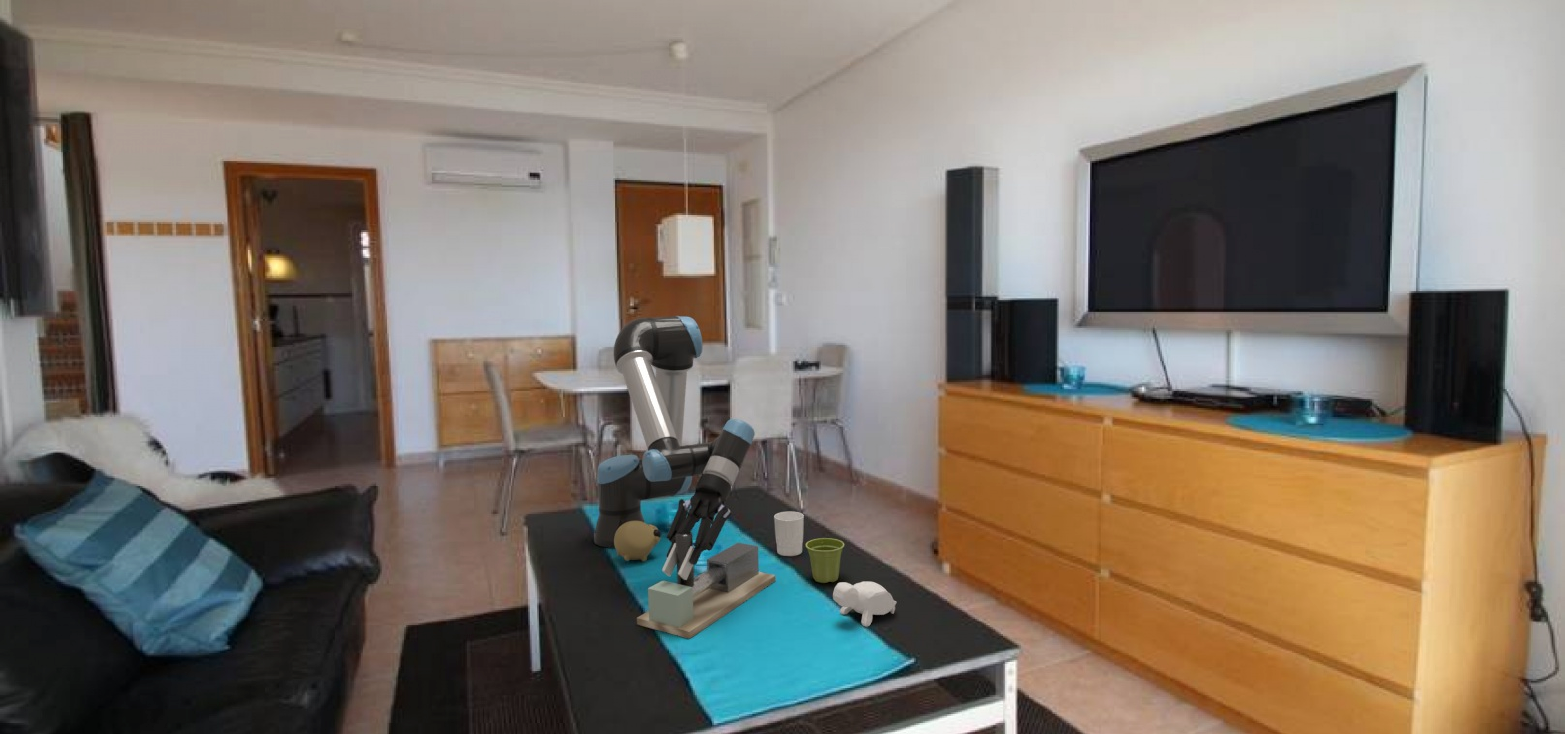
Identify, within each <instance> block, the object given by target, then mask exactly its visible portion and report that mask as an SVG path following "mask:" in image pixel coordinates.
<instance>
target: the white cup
mask: <svg viewBox="0 0 1565 734" xmlns="http://www.w3.org/2000/svg"><path fill="white" fill-rule="evenodd" d="M804 516H805V515H804V514H803V513H802V512H798V511H781V512H778V513H775V514H774V516H773V520H774V535H775V542H776V551H777V552H776V553H777V554H778V555H780V556H783V557H795V556H799V555H801V554H802V553H803V542H804V518H805V517H804Z"/></svg>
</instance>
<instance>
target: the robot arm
mask: <svg viewBox="0 0 1565 734" xmlns="http://www.w3.org/2000/svg"><path fill="white" fill-rule="evenodd" d="M702 353H703V337H702V333H701V330H700V327H699V325H698V323H697V322H696V320H695V319H693V318H692V317H691V316H679V315H675V316H674V315H673V316H657V317H639V318H635V319H633V320H630V321H629V322H628V323H626V324H625V325H624V326H623V327H622V328H621V329H620V331H619V332H618V335H617V337H616V338H615V341H614V345H613V360H614V364H615V368H616V370H617V372H618V373H620V374H621V375H622V376H623V379H624V381H625V385H626V389H627V391H628V394H629V397H630V400H631V403H632V405H633V409H634V412H635V415H636V418H637V421H638V424H639V427H640V429H641V433H642V436H643V439H644V442H645V445H646V447H647V448H646V450H645V451H644V453H643V455H642V458H639V457H638V456H637V455H636V454H627V455H624V454H623V455H622V454H621V455H617V456H612V457H610V458H608V459H605V460H604V461H602V462H601V463H599V465H598V467H597V474H596V477H597V478H596V483H597V493H598V494H597V495H598V496H597V497H598V518H597V521H596V525H595V530H594V532H593V542H594V544H595V545H597V546H599V547H602V548H612V549H614V548H615V546H614V537H615V533H616V531H617V529H618V528H619V527H620V526H621V525H623V524H624V523H626V522H629V521H642V522H644V523H646V522H645V519H644V516H643V513H642V509H641V507H642V505H641V504H642V503H641V501H646V500H651V499H657V498H663V497H669V496H670V497H674V496H676V495H680V494H683V493H685V492H687V490H689V488H690V487H691V485H692V481H693V477H697V476H700V477H699V480H698V481H697V484H696V485H695V486H696V487H695V492H694V494H693V495H692V496H691V497H690V499H687V500H684V499H683V498H681V499H679V500H678V506H677V507H678V509H677V511H676V512H675V515H674V517H673V520H672V523H671V525H670V527H669V529H668V532H667V534H666V539H667V540H668V541H669V542H670V543H671V544H670V546H669V548H668V550H667V553H666V561H665V563H664V565H663V567H662V569H661V571H662V572H663V573H664V574H665V575H666V576H667V577H669V578H670V577H671V576H672V574H673V572H674V570H675V568H676V567H677V558H676V533H678V532H682V531H689V532H692V530H693V529H694V527H695V526H696V524H697V523H699V522H700V523H699V525H698V531H697V533H696V538H695V541H694V542H693V546H690V548H689V550H688V552H687V555H686V557H685V559H684V561H683V563H682V566H681V568H680V570H679V572H678V575H679V576H681V577H682V578H683V579H684V580H687V578H688V576H689V573H690V571H691V569H692V567H693V565H694V566H695V565H697V563H698V561H699V559H700V557H701V554H702V553H703V552H705V551H708V552H710V551H712V549H713V547H714V546H715V543H716V541H717V540H718V538H719V535H720V534H721V531H722V529H723V527H724V526H725V524H726V522H727V520H728V519H729V518H730V517H731V515H732V511H731V510H730V509H729V507H728V506H726V505H725V502H727V500H728V498H729V495H730V493H731V492H732V487H733V486H734V484H735V481H736V479H737V477H738V474H739V472H740V470H741V467H742V465H743V463H744V461H745V459H746V457H747V454H748V452H749V449H750V447H751V446H752V445H753V441H754V437H755V435H756V434H755V433H756V431H755V429H754V428H753V426H752V425H751V424H749V423H747V422H746V421H744V420H742V419H737V418H731V419H729V420H727V421H726V423H725V425H724V427H722V430H721V433H720V434H719V435H718V436H717V437H716V438H715V439H713V440H712V441H710V442H703V443H697V444H695V443H694V444H690V445H689V444H688V445H683V433H684V431H683V430H684V418H685V402H686V393H687V391H686V390H687V374H688V372H689V371H690V370H691V369H693V366H694V359H697V358H700V356H701V355H702ZM653 368H654V370H655V372H654V370H653Z"/></svg>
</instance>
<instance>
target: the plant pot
mask: <svg viewBox="0 0 1565 734" xmlns="http://www.w3.org/2000/svg"><path fill="white" fill-rule="evenodd" d="M805 548H806V549H807V553H808V554H809V559H810V560H809V561H810V565H811V566H810V567H811V572H812V578H813V579H814V581H815V582H817V583H821V584H825V583H826V584H827V583H829V582H831V583H835V582H836V581H838V579H839V575H840V566H841V556H842V553H843V548H845V543H844V541H842V540H839V539H836V538H831V537H830V538H827V537H822V538H814V539H811V540H808V541H807V542H806V543H805Z"/></svg>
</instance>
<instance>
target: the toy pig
mask: <svg viewBox="0 0 1565 734" xmlns="http://www.w3.org/2000/svg"><path fill="white" fill-rule="evenodd" d="M644 522H645V521H644ZM644 522H642V521H629V522H626V523H624V524H623V525H621V526H620V527H619V528H618V529H617V531H616V533H615V537H614V546H615V551H616V555H617V556H618V557H622V558H623V559H624V561H626V562H630V560H631V561H632V560H633V561H637V560H638V561H639V560H640V561H641V562H643V563H644V562H646V561H647V558H648V556H649V554H650V553H651V552H652V550H653V548H654V547H655V546H657V545H658V543H659V542H660V540H661V537H662V532H661V531H660V530H659V529H658V527H657V526H656V525H654V524H651V523H648V524H647V523H646V522H645V523H644Z"/></svg>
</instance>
